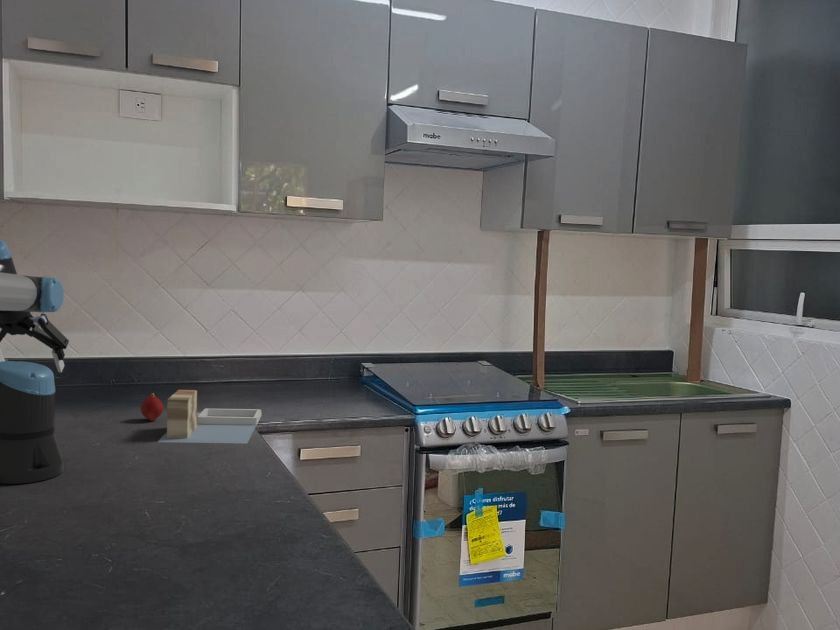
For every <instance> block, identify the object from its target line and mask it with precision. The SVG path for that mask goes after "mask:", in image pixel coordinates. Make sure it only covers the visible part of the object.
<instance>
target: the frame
mask: <svg viewBox="0 0 840 630" xmlns="http://www.w3.org/2000/svg"><path fill="white" fill-rule="evenodd" d="M261 414H262V409H255V408H254V409H252V408H251V409H250V408H249V409H247V408H206V407H205V408H203V410H202V411H201V413H200V415H199V416H198V417H197V424H216V425H256V426H257V425H258V423H259V421H260V419H261V418H262V416H261ZM215 416H229V417H215ZM260 417H261V418H260Z"/></svg>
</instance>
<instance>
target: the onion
mask: <svg viewBox="0 0 840 630" xmlns="http://www.w3.org/2000/svg"><path fill="white" fill-rule="evenodd" d="M163 410H164V405H163V403H162V400H161V399H160V398H158V397H157V396H155V393H154V392H153V393H152V392H151V394H150V395H148V397H146V398H145V399H144V400H143V402H142V403H141V406H140V411H141V415H142V416H143V417H144V418H145V419H147V420H148V421H149V422H155V421H156V420H157V419H158V418H159V417H160V416H161V414H162V413H163Z"/></svg>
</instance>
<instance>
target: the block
mask: <svg viewBox="0 0 840 630" xmlns="http://www.w3.org/2000/svg"><path fill="white" fill-rule="evenodd" d="M166 404H167V406H166V407H167V409H166V410H167V415H166V418H167V421H166V422H167V423H166V432H167V438H188V437H189V436H190V435H191V433H192V432H193V431H194V430H195V429H196V427H197V412H198V390H196V389H178V390H176V391H175V392H174V393H173V394H172V395H171V396H170V397H168V398H167V403H166Z"/></svg>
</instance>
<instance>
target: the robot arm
mask: <svg viewBox="0 0 840 630" xmlns="http://www.w3.org/2000/svg"><path fill="white" fill-rule="evenodd" d="M64 291H65V290H64V286H63V284H62V282H61V281H60V279H58V278H57V277H49V276H47V277H46V276H31V275H22V274H18V272H17V269H16V265H15V263H14V261H13V254H12V253H11V251H10V249H9V246H8V245H7V243H6V242H5V241H4V240H2V239H0V329H1V330H0V343H1V342H2V341H3V339H4V338H5V337H6V336H7V334H9V335H10V336H16V335H20V336H25V335H27V336H29V337H31V338H34V339H36V340H37V341H40V342H41V344H43V345H45V346H46V347H49V348H50V349H51V354H52V358H53V361H54V364H55V366H56V370H57V372H58V373H63V370H64V368H65V362H64V358H65V355H66V354H65V352H64V350H66V349H67V348H68V345H69V342H70V340H69V339H68V338H67V337H66V336H65V335H64V334H63V333H62V332H61V331H60V330H58V328H57V327H56V326H55V325H54V324H53V323H52V322H51V321H50V320H49V317H48V316H47V314H46V313H55V312H57V311H59V309H60V308H61V307H62V305H63V303H64V297H65V293H64ZM32 313H41V314H40V315H38V316H37V315H36V316H33V315H32ZM55 394H56V385H55V375H54V372H53V370H51V369H50V368H49V366H46V365H44V364H40V363H35V362H28V361H21V360H20V361H14V360H5V357H4V355H3V352H2V349H1V348H0V484H1V485H17V484H18V485H19V484H28V483H36V482H42V481H45V480H50V479H53V478H54V477H57V476H59V475H61V474H62V473H63V472H64V468H65V467H64V464H65V463H64V458H63V454H62V452H61V448H60V446H59V444H58V441H57V439H56V435H55V434H56V433H55V419H56V418H55V417H56V415H55V410H56V409H55V407H56V402H55V401H56V400H55V399H56V395H55Z"/></svg>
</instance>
